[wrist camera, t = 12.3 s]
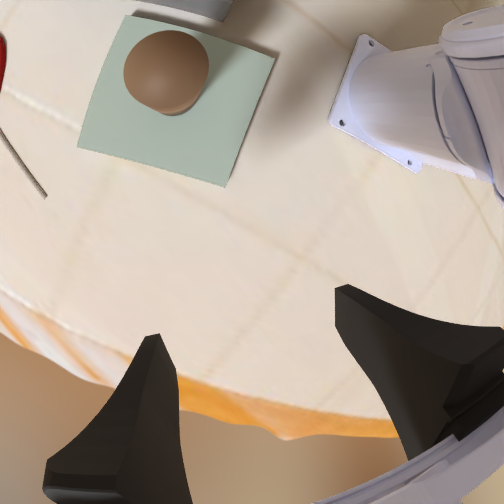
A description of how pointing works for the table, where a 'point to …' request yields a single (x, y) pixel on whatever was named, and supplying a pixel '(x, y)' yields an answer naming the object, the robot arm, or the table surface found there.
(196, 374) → the table surface
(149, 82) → the brown cylinder
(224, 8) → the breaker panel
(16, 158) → the lollipop
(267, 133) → the table surface
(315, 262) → the table surface
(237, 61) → the pad
